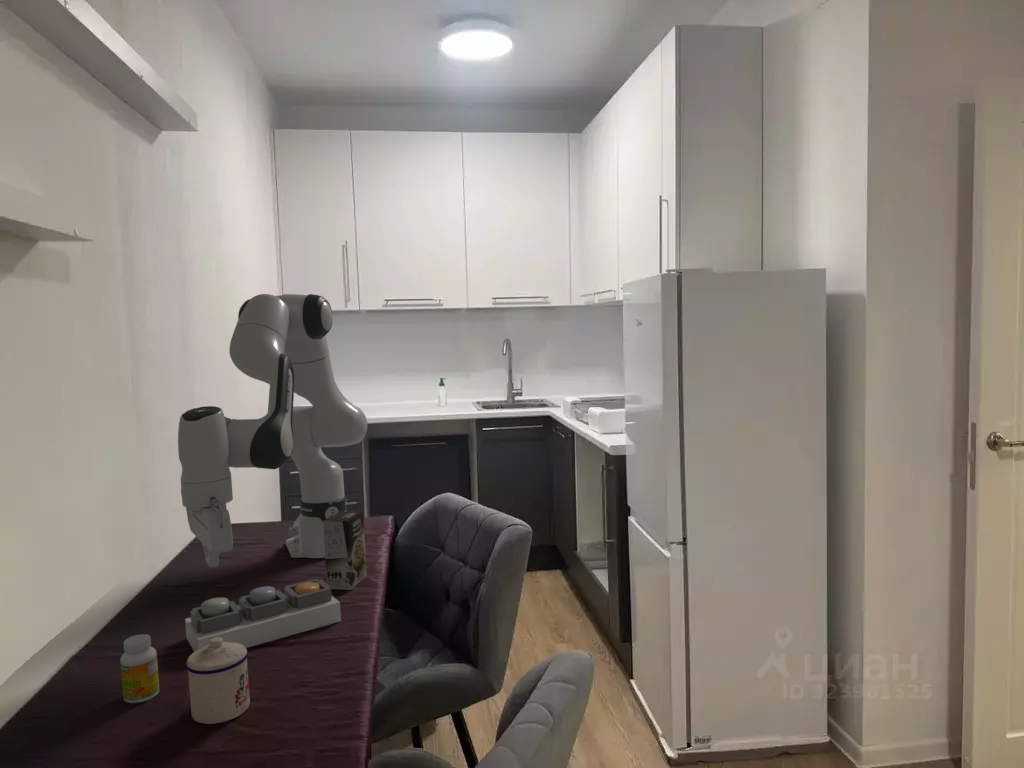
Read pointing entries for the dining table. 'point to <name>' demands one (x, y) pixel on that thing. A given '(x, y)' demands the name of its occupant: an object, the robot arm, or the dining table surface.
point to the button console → (265, 618)
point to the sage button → (214, 607)
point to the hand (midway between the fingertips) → (212, 564)
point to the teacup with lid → (218, 681)
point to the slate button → (262, 595)
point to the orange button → (306, 588)
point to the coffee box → (345, 549)
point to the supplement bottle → (139, 669)
